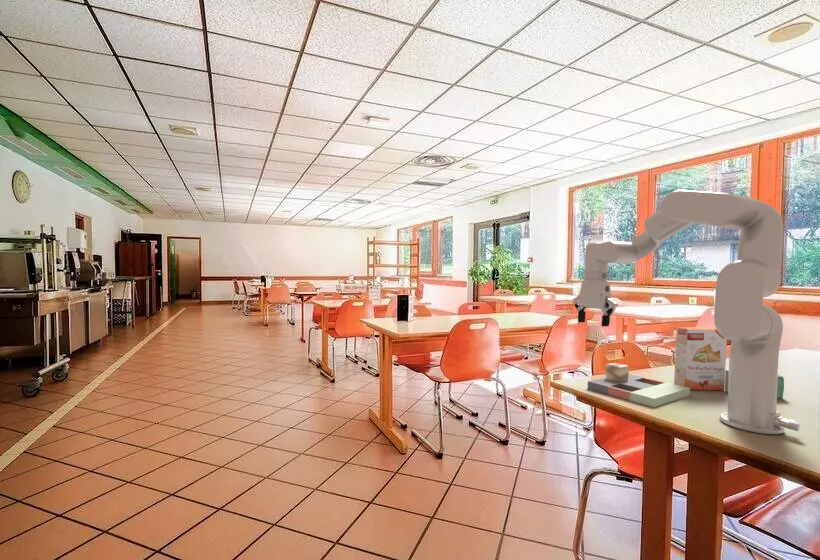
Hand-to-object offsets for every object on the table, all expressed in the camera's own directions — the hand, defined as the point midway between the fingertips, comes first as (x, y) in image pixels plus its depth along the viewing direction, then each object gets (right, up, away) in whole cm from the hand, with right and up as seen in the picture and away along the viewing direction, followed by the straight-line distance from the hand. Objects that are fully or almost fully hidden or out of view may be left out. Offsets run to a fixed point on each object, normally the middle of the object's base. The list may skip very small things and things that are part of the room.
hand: (593, 324), depth 142 cm
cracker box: (+34, -22, -7) cm, 40 cm away
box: (+47, -22, -13) cm, 53 cm away
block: (+5, -18, -7) cm, 20 cm away
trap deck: (+9, -21, -13) cm, 26 cm away
